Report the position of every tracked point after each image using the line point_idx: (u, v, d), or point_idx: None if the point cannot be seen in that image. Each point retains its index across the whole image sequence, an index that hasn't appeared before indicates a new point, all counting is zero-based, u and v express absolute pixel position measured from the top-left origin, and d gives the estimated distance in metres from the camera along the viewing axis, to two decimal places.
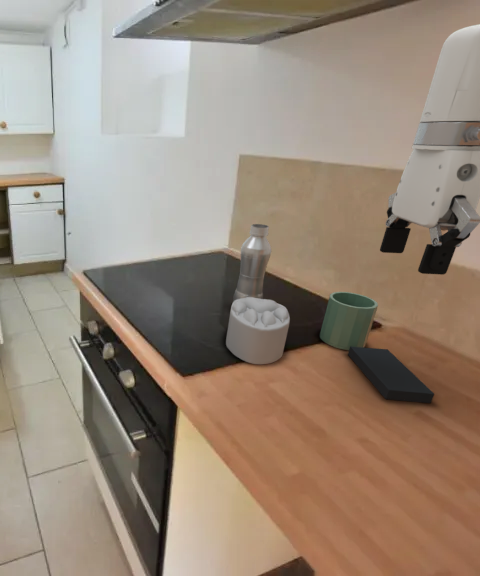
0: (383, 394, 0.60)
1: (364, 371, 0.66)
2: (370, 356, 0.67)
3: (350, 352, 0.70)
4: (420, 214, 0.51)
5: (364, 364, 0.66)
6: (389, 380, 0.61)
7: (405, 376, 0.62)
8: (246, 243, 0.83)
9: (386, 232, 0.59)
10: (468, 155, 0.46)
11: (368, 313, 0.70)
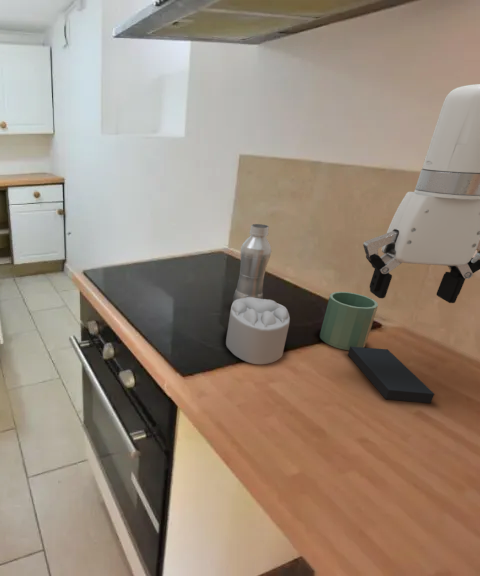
0: (383, 394, 0.60)
1: (364, 371, 0.66)
2: (370, 356, 0.67)
3: (350, 352, 0.70)
4: (456, 256, 0.54)
5: (364, 364, 0.66)
6: (389, 380, 0.61)
7: (405, 376, 0.62)
8: (246, 243, 0.83)
9: (389, 279, 0.57)
10: None
11: (368, 313, 0.70)
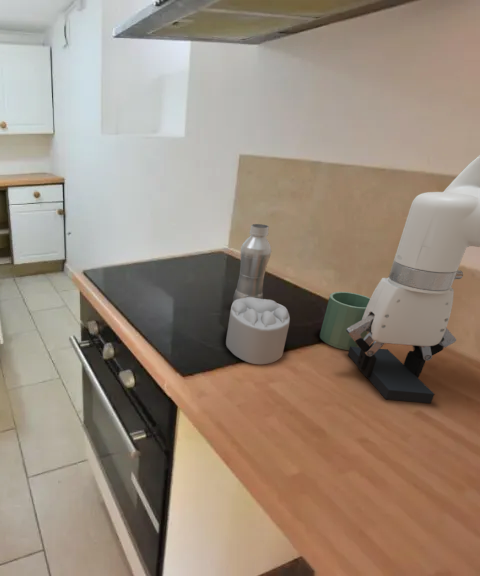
0: (383, 394, 0.60)
1: None
2: None
3: (350, 352, 0.70)
4: (426, 339, 0.59)
5: None
6: (389, 380, 0.61)
7: (405, 377, 0.62)
8: (246, 243, 0.83)
9: (373, 361, 0.62)
10: None
11: None
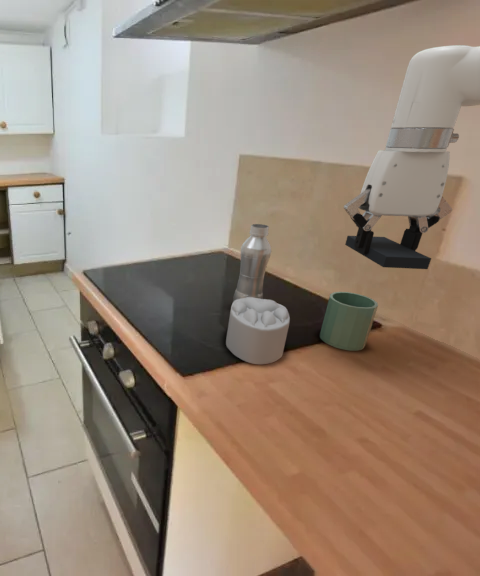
0: (381, 263, 0.60)
1: None
2: None
3: (347, 241, 0.71)
4: (423, 207, 0.60)
5: None
6: (387, 252, 0.61)
7: (402, 250, 0.62)
8: (246, 243, 0.83)
9: (371, 236, 0.63)
10: None
11: (368, 313, 0.70)
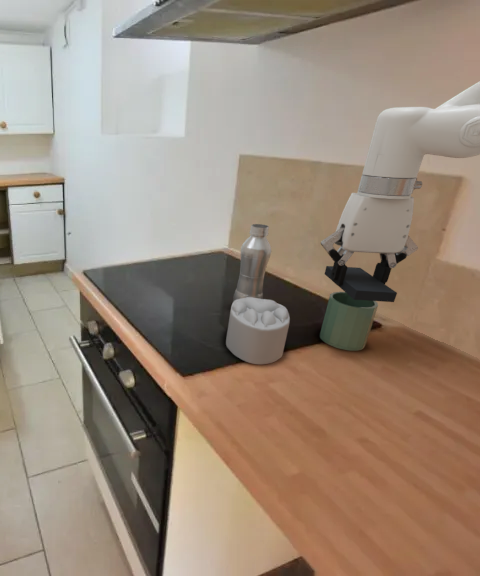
0: (352, 295, 0.67)
1: None
2: None
3: (326, 271, 0.77)
4: (391, 245, 0.66)
5: None
6: (358, 285, 0.68)
7: (373, 283, 0.69)
8: (246, 243, 0.83)
9: (345, 270, 0.69)
10: None
11: (368, 313, 0.70)
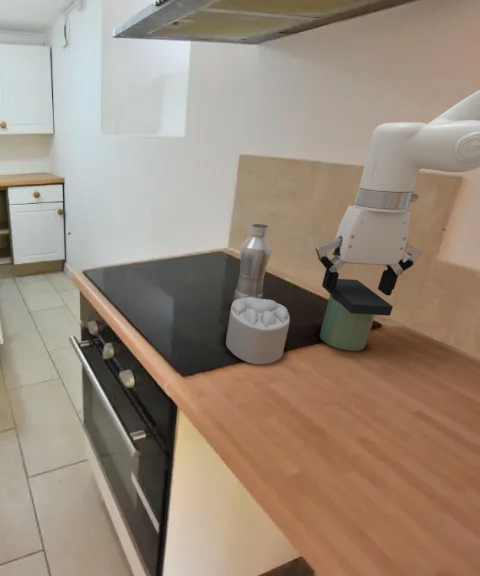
0: (349, 309, 0.68)
1: (334, 295, 0.73)
2: (341, 284, 0.75)
3: None
4: (388, 257, 0.67)
5: None
6: (355, 298, 0.69)
7: (369, 296, 0.70)
8: (246, 243, 0.83)
9: (336, 277, 0.70)
10: None
11: None
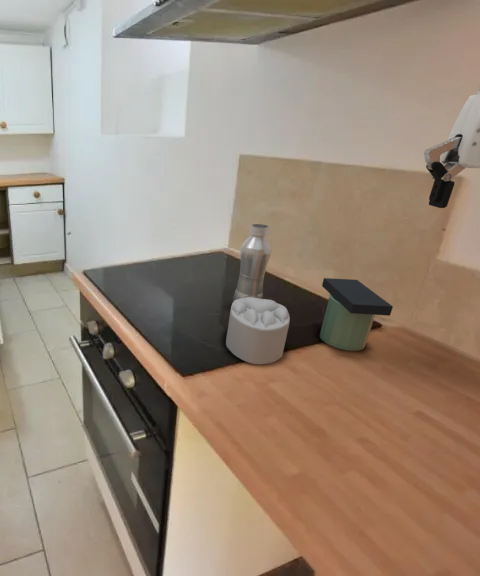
0: (349, 309, 0.68)
1: (334, 295, 0.73)
2: (341, 284, 0.75)
3: (323, 283, 0.78)
4: None
5: (334, 289, 0.74)
6: (355, 298, 0.69)
7: (369, 296, 0.70)
8: (246, 243, 0.83)
9: (451, 186, 0.57)
10: None
11: None
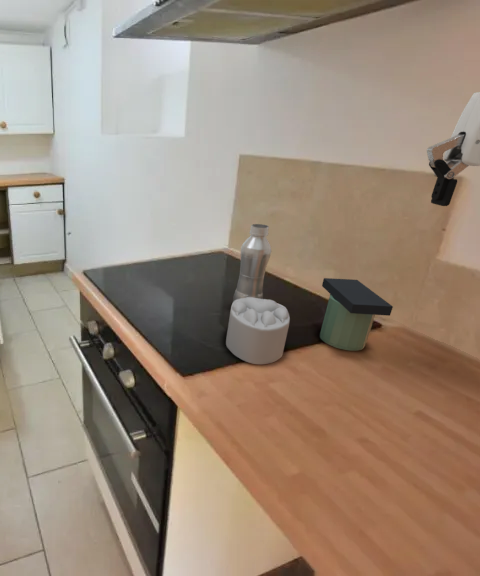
0: (349, 309, 0.68)
1: (334, 295, 0.73)
2: (341, 284, 0.75)
3: (323, 283, 0.78)
4: None
5: (334, 289, 0.74)
6: (355, 298, 0.69)
7: (369, 296, 0.70)
8: (246, 243, 0.83)
9: (454, 184, 0.56)
10: None
11: None
